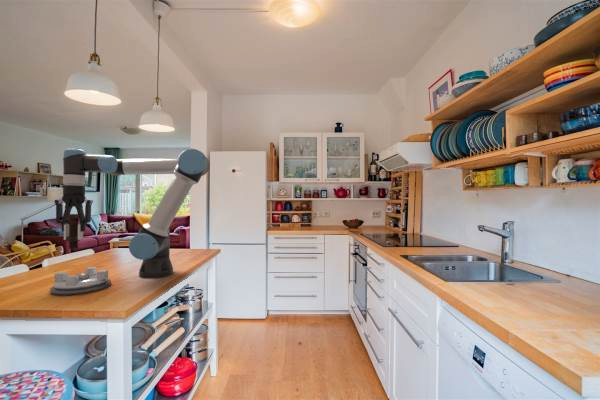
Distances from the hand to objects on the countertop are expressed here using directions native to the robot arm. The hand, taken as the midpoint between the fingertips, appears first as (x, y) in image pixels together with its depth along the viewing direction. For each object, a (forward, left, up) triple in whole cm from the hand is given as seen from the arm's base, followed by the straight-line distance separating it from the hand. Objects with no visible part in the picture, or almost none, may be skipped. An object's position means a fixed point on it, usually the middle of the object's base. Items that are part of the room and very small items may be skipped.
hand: (73, 239), depth 123 cm
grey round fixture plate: (-6, +6, -18) cm, 20 cm away
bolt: (0, 0, -4) cm, 4 cm away
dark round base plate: (-6, +6, -20) cm, 21 cm away
